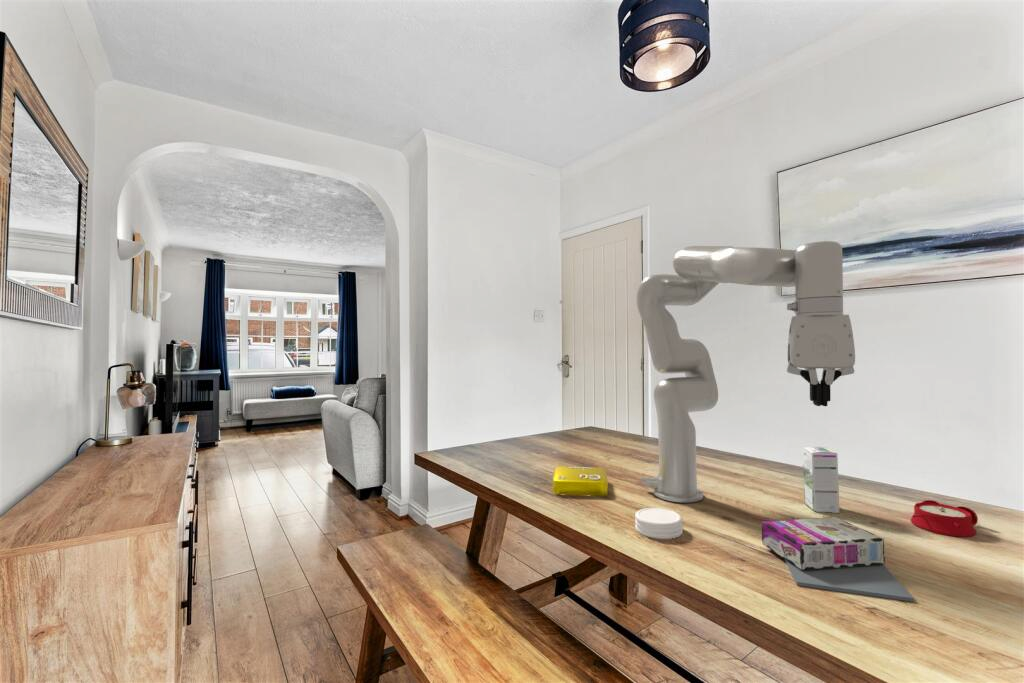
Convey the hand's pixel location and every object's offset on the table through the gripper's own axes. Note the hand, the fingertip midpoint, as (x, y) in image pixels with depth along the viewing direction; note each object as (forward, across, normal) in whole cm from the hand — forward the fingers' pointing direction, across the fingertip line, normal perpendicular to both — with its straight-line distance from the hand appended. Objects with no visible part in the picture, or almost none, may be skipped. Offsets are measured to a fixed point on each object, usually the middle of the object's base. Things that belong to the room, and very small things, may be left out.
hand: (820, 404), depth 87 cm
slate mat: (+29, +1, -4) cm, 29 cm away
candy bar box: (+26, -8, -4) cm, 28 cm away
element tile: (+30, -52, +29) cm, 67 cm away
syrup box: (+29, +7, +30) cm, 42 cm away
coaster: (+30, -30, +4) cm, 42 cm away
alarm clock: (+30, +29, +26) cm, 49 cm away
